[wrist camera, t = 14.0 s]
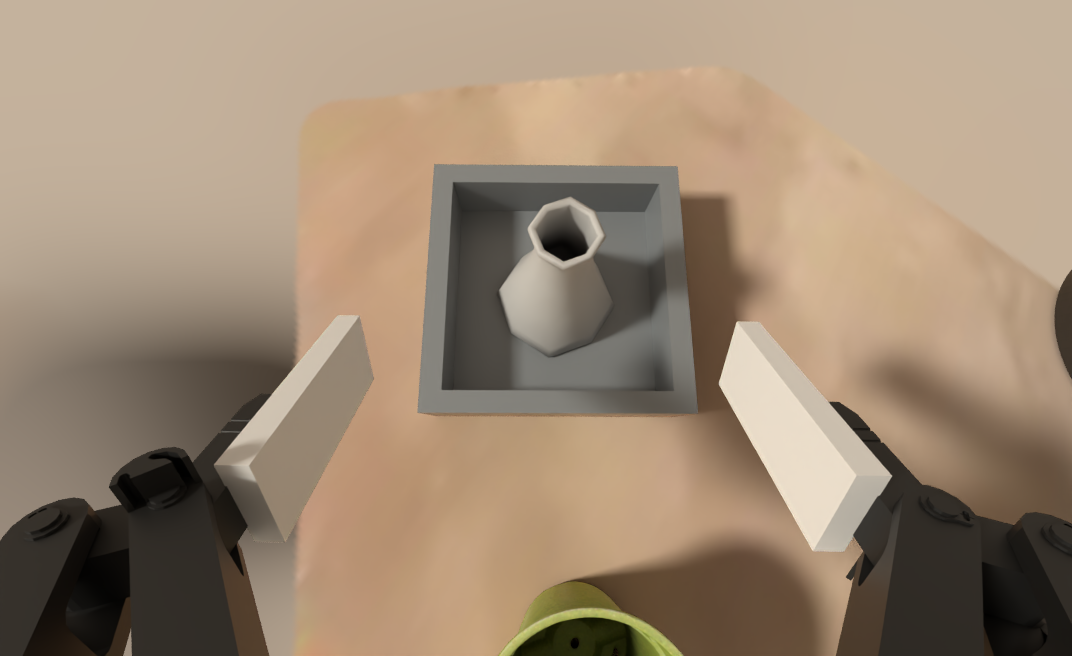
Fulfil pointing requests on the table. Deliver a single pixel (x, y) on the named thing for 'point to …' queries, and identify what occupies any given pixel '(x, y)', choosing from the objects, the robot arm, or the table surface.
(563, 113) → the table surface
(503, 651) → the plant pot
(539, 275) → the flask
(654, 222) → the open box
